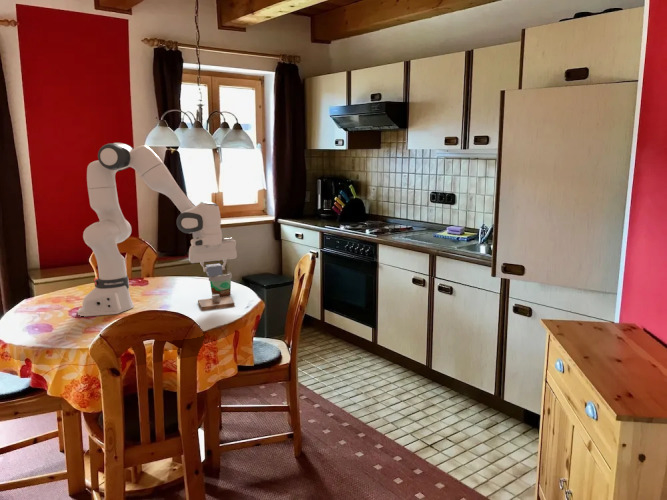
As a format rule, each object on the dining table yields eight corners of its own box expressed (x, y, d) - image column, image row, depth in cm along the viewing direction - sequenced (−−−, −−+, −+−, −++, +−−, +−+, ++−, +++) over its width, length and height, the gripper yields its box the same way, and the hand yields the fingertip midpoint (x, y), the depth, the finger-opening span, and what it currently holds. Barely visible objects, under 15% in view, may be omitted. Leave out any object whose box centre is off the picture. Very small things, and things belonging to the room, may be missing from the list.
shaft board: (201, 310, 229) (201, 300, 228) (198, 303, 240) (197, 293, 239) (234, 306, 234) (234, 296, 233) (229, 299, 245) (228, 289, 244)
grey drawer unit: (208, 276, 230) (207, 267, 229) (206, 273, 235) (205, 264, 234) (222, 275, 232) (221, 265, 231) (220, 272, 237) (219, 262, 237)
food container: (218, 299, 245) (217, 278, 243) (209, 297, 249) (208, 276, 247) (238, 293, 255) (237, 272, 253) (229, 291, 258) (228, 271, 256)
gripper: (234, 236, 237) (236, 266, 240) (186, 240, 230) (189, 272, 233) (237, 238, 231) (239, 269, 234) (188, 242, 224) (191, 275, 227)
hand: (214, 270), depth 233 cm, fingers closed on grey drawer unit, 6 cm apart
